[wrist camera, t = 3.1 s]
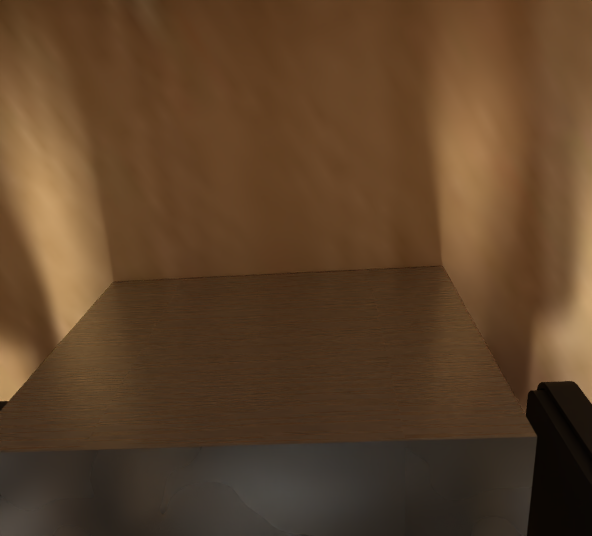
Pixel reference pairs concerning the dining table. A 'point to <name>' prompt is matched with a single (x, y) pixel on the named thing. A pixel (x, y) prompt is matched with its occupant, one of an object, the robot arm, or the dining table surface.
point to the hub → (269, 414)
